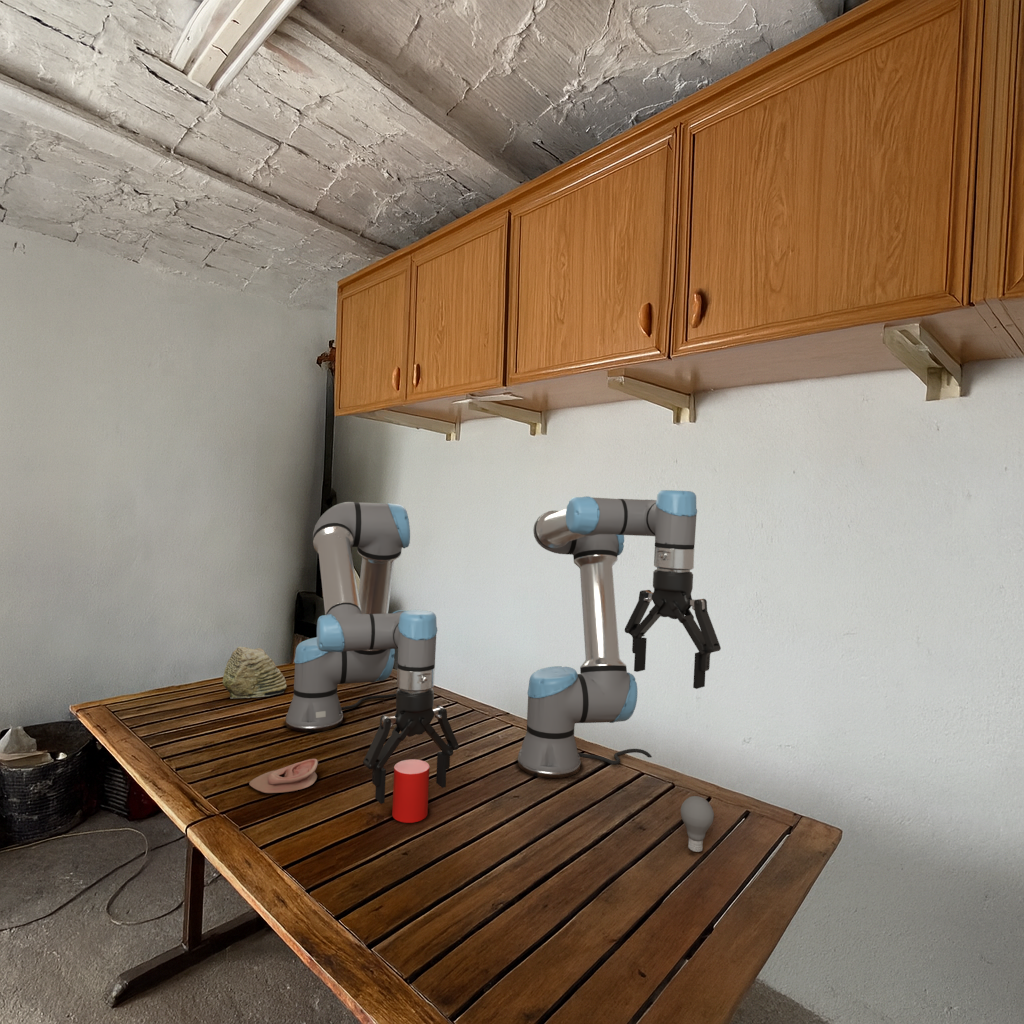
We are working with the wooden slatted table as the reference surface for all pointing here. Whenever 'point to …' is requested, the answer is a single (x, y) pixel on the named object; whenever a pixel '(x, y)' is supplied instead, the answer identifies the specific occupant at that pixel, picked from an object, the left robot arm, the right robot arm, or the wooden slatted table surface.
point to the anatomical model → (287, 778)
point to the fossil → (252, 674)
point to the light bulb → (696, 820)
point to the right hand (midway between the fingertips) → (668, 678)
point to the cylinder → (410, 791)
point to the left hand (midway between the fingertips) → (411, 792)
